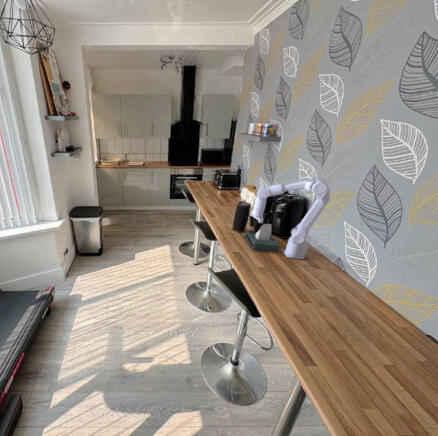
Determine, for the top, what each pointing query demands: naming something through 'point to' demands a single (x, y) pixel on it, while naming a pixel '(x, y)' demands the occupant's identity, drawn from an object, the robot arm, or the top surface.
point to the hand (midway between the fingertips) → (253, 229)
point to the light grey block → (264, 232)
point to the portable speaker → (241, 216)
